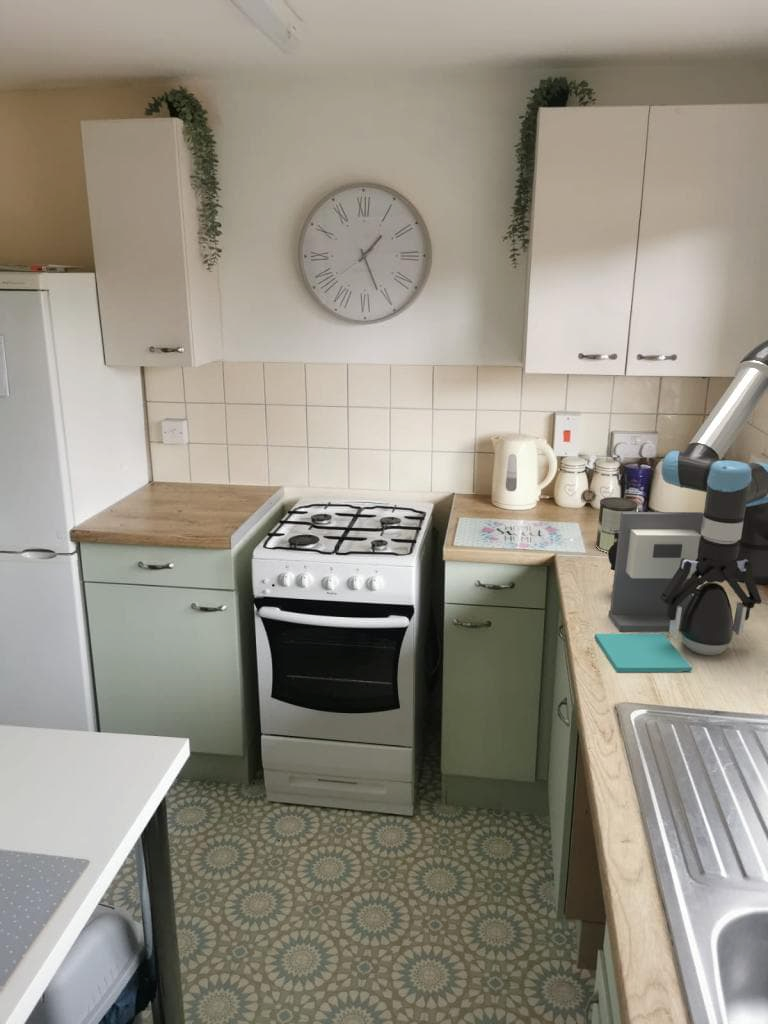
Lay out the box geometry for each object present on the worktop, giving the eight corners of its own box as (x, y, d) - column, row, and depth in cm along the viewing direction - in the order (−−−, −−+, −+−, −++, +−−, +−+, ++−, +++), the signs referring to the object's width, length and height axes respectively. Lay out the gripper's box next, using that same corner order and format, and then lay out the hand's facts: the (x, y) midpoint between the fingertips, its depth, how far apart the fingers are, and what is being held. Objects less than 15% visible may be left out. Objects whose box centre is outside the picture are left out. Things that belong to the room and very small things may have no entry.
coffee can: (588, 544, 224) (593, 498, 219) (618, 541, 227) (623, 495, 223) (608, 556, 214) (614, 508, 210) (639, 553, 218) (645, 505, 213)
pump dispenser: (670, 638, 166) (679, 573, 162) (718, 639, 166) (728, 574, 162) (686, 660, 157) (696, 592, 152) (737, 661, 156) (749, 593, 152)
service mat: (662, 637, 166) (663, 633, 166) (691, 672, 152) (691, 667, 152) (594, 637, 166) (595, 633, 166) (616, 672, 152) (617, 667, 151)
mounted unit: (684, 616, 177) (700, 511, 170) (699, 631, 170) (716, 522, 162) (608, 616, 177) (620, 511, 169) (619, 631, 169) (632, 522, 161)
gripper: (771, 532, 158) (754, 625, 164) (652, 531, 157) (640, 625, 163) (790, 544, 151) (772, 641, 157) (666, 543, 150) (653, 641, 156)
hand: (705, 633), depth 160 cm, fingers open, 13 cm apart
